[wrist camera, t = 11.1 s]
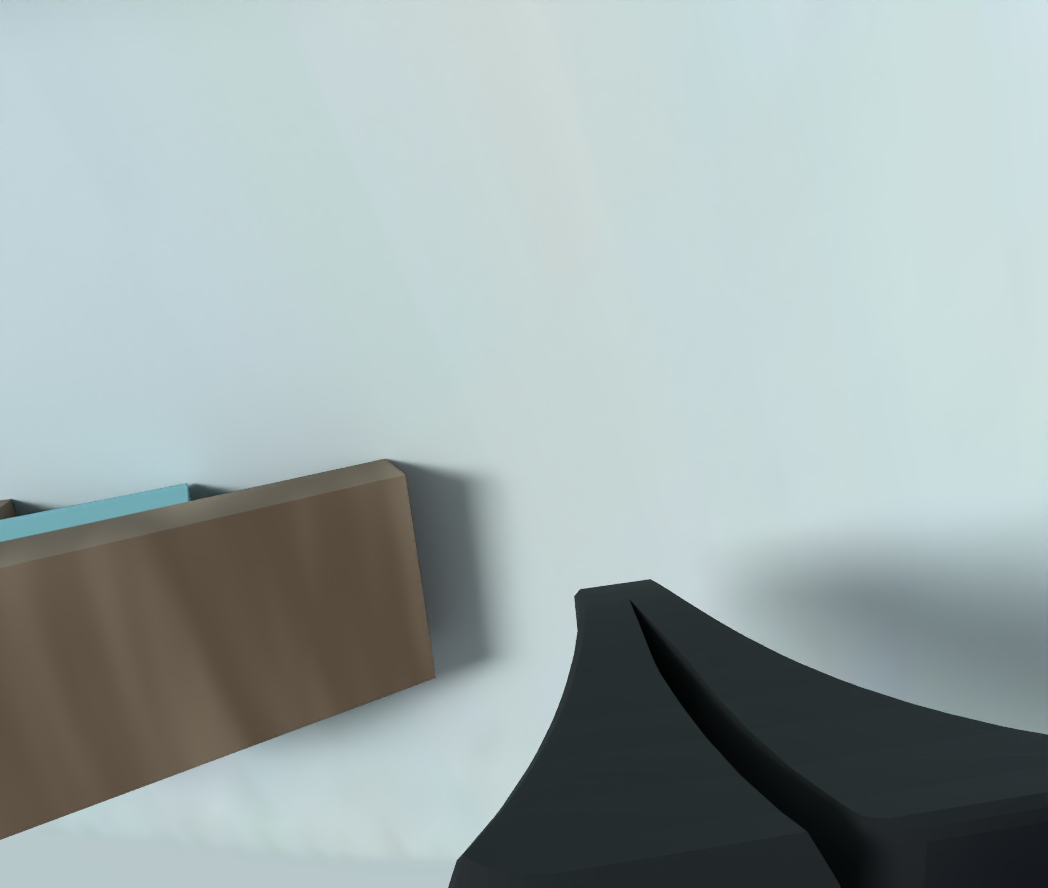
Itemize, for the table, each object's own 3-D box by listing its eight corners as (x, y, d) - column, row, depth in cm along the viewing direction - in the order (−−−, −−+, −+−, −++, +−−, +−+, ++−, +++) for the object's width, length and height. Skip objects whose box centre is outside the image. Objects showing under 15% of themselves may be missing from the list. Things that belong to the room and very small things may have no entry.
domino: (405, 474, 14) (-148, 601, 10) (435, 677, 15) (-46, 856, 12) (385, 458, 15) (-109, 566, 12) (414, 645, 17) (-21, 796, 13)
